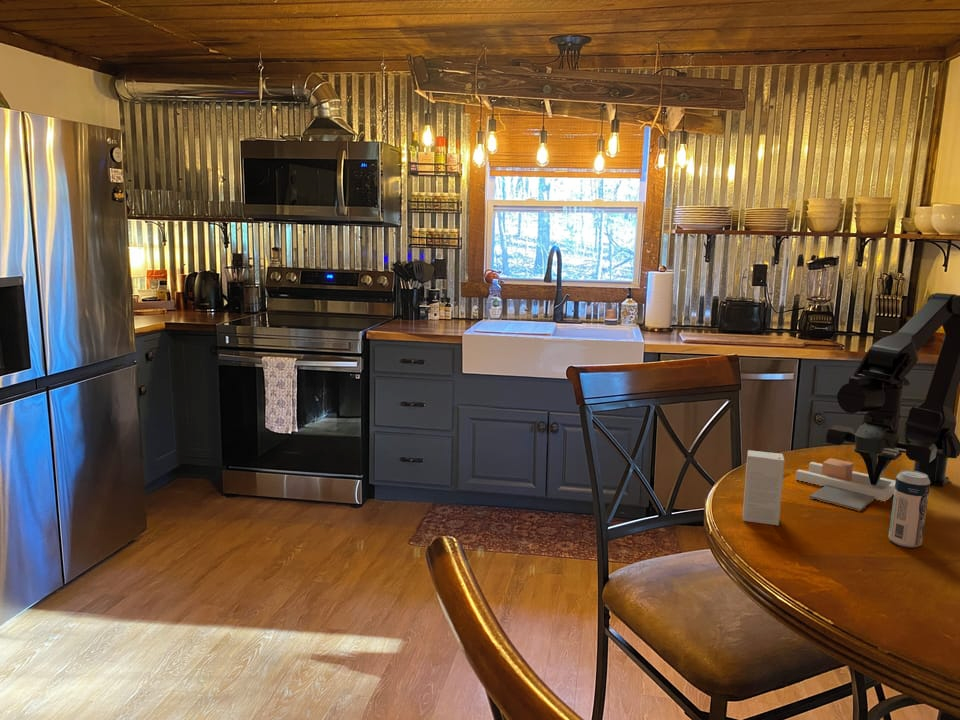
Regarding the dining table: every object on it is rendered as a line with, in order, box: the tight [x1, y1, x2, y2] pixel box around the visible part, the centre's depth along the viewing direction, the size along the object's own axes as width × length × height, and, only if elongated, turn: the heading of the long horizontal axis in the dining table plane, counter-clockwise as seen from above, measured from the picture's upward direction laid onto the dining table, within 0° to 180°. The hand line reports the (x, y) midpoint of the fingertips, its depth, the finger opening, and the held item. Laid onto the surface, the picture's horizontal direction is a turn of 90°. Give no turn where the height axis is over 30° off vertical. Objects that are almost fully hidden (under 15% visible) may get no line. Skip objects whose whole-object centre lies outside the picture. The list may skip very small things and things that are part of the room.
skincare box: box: [742, 449, 786, 526], centre depth 126 cm, size 6×4×12 cm
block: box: [822, 457, 854, 481], centre depth 147 cm, size 4×4×4 cm
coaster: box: [809, 485, 875, 510], centre depth 138 cm, size 9×9×1 cm
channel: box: [795, 461, 896, 502], centre depth 145 cm, size 9×17×2 cm, turn 46°
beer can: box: [887, 469, 931, 549], centre depth 117 cm, size 5×5×12 cm
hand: (873, 484), depth 142 cm, fingers closed
